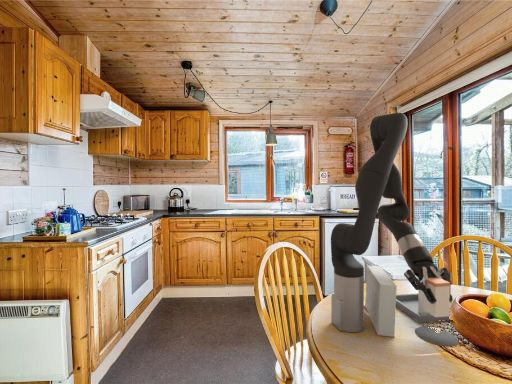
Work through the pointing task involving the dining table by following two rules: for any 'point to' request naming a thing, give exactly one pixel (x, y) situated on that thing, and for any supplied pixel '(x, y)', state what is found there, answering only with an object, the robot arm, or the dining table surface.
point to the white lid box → (421, 303)
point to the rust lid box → (438, 297)
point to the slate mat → (436, 336)
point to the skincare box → (381, 300)
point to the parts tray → (414, 308)
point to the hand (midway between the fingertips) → (441, 301)
